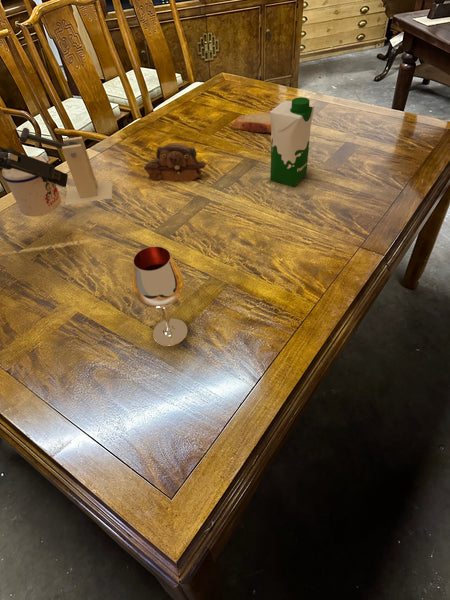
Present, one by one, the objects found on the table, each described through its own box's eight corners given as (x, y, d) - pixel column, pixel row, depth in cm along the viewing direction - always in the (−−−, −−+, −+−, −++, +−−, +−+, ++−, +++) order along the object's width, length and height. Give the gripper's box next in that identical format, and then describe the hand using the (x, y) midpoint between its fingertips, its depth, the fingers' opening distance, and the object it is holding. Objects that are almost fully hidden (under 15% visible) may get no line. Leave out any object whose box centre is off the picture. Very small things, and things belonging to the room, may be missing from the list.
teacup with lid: (60, 214, 87) (38, 163, 79) (16, 220, 87) (-11, 169, 78) (66, 184, 95) (48, 135, 87) (26, 190, 95) (3, 140, 86)
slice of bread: (229, 125, 134) (228, 113, 131) (276, 110, 139) (277, 99, 136) (258, 147, 123) (258, 134, 120) (309, 130, 128) (310, 118, 125)
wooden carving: (146, 187, 111) (138, 152, 104) (149, 178, 114) (141, 143, 107) (207, 185, 110) (204, 149, 103) (208, 176, 113) (205, 140, 106)
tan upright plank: (66, 209, 107) (44, 155, 96) (68, 190, 113) (48, 137, 102) (113, 201, 108) (96, 147, 97) (113, 183, 114) (97, 130, 103)
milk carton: (295, 189, 106) (301, 110, 91) (264, 180, 110) (265, 102, 95) (311, 173, 111) (318, 95, 96) (281, 165, 114) (284, 89, 100)
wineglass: (170, 309, 80) (152, 234, 67) (201, 328, 77) (189, 253, 64) (139, 336, 76) (113, 262, 63) (170, 358, 73) (151, 284, 59)
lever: (19, 143, 95) (19, 134, 94) (22, 134, 98) (23, 124, 97) (79, 160, 100) (80, 151, 99) (80, 150, 104) (82, 142, 102)
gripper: (-101, 156, 71) (3, 188, 93) (0, 171, 65) (86, 202, 87) (-95, 111, 71) (8, 154, 92) (7, 123, 65) (92, 166, 86)
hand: (46, 177), depth 90 cm, fingers closed on teacup with lid, 9 cm apart
